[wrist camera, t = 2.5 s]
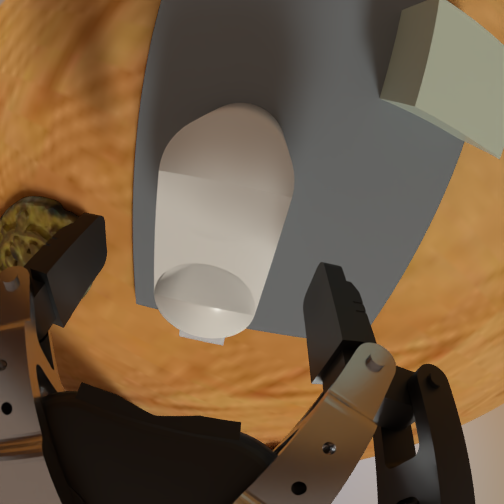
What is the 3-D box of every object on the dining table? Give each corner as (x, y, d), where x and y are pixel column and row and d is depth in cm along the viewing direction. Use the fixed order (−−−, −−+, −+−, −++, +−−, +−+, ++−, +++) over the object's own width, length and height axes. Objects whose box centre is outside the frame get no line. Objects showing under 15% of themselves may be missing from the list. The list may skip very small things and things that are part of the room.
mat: (185, -57, 7) (182, -61, 6) (482, 43, 8) (488, 43, 7) (139, 297, 19) (136, 303, 18) (355, 338, 20) (357, 344, 19)
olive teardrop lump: (64, 152, 14) (-10, 241, 18) (11, 171, 10) (-41, 265, 14) (134, 271, 18) (40, 318, 22) (100, 315, 14) (15, 348, 18)
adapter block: (401, 10, 8) (439, -4, 5) (479, 59, 8) (523, 64, 5) (379, 98, 10) (414, 106, 8) (458, 138, 11) (499, 159, 8)
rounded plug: (204, 95, 11) (166, 104, 7) (294, 114, 11) (311, 132, 7) (179, 292, 17) (156, 357, 13) (242, 306, 18) (234, 374, 13)
